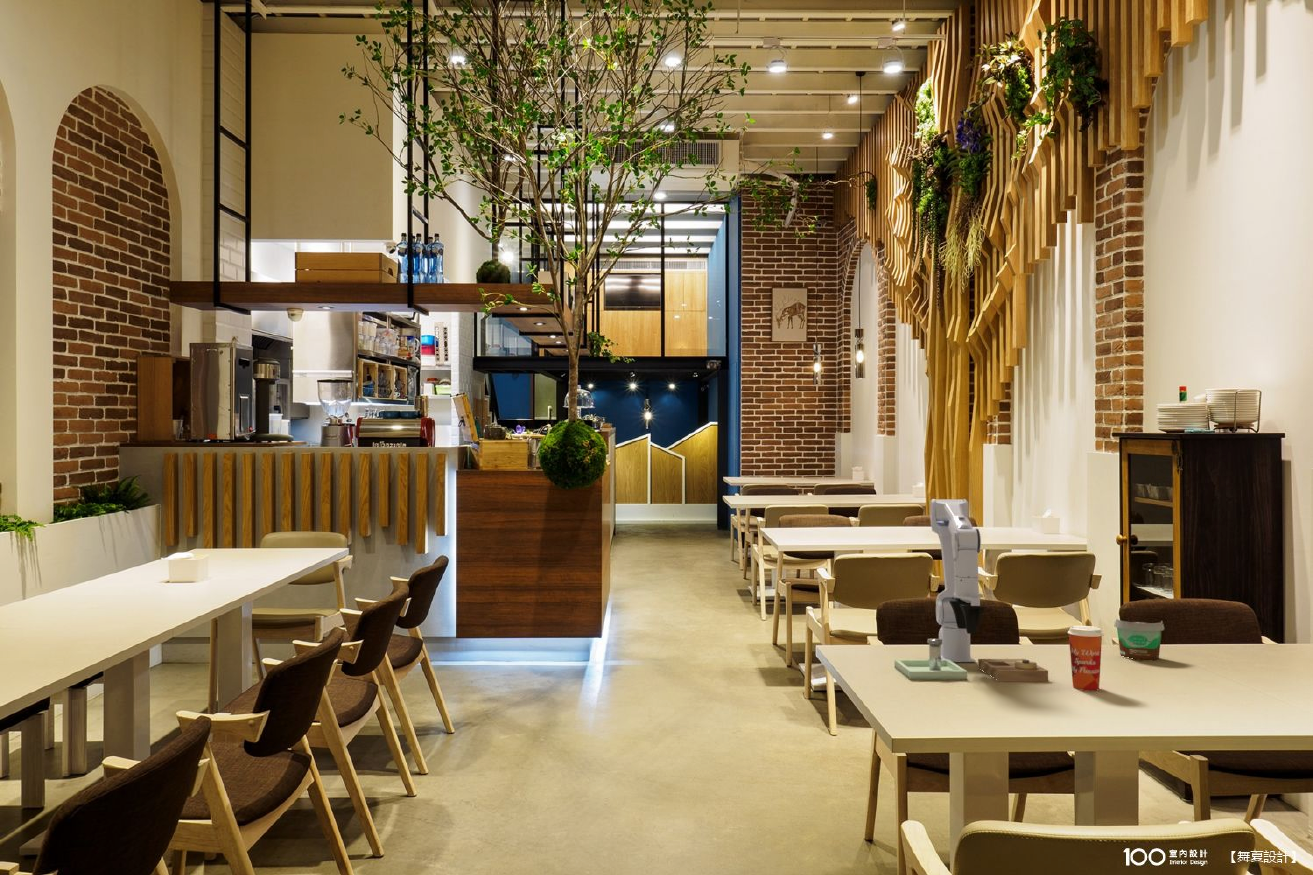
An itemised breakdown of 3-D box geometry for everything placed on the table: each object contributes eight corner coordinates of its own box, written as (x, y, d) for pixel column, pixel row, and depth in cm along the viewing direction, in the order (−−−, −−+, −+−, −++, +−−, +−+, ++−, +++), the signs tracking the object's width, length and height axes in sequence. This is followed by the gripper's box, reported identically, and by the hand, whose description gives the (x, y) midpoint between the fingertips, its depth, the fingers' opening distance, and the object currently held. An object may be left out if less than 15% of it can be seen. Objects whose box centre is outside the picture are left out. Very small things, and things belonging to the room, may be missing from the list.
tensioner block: (978, 668, 247) (978, 651, 247) (1024, 668, 247) (1024, 651, 247) (998, 681, 233) (998, 663, 233) (1048, 681, 233) (1047, 663, 233)
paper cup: (1066, 689, 224) (1066, 629, 225) (1069, 682, 231) (1069, 624, 231) (1103, 693, 221) (1103, 631, 221) (1105, 686, 228) (1104, 626, 228)
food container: (1118, 659, 257) (1117, 622, 258) (1114, 655, 263) (1114, 618, 263) (1169, 662, 254) (1169, 624, 254) (1164, 658, 260) (1164, 620, 260)
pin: (926, 669, 243) (926, 638, 243) (941, 669, 243) (940, 638, 243) (929, 672, 239) (928, 641, 240) (944, 672, 239) (943, 641, 239)
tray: (894, 667, 248) (894, 659, 248) (948, 667, 248) (948, 659, 248) (909, 679, 234) (909, 671, 234) (967, 679, 234) (967, 671, 234)
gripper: (992, 580, 236) (992, 635, 236) (972, 573, 250) (973, 626, 250) (963, 579, 236) (963, 635, 236) (945, 573, 250) (946, 626, 250)
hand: (966, 630), depth 243 cm, fingers open, 7 cm apart
